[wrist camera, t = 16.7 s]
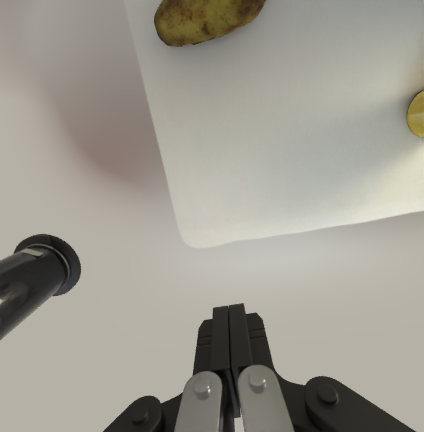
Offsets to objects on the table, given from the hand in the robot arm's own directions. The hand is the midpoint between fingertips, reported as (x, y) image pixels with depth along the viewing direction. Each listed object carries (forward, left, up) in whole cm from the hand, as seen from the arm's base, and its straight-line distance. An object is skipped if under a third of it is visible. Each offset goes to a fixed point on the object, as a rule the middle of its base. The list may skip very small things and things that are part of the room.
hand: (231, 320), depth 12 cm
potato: (+2, +24, -27) cm, 36 cm away
